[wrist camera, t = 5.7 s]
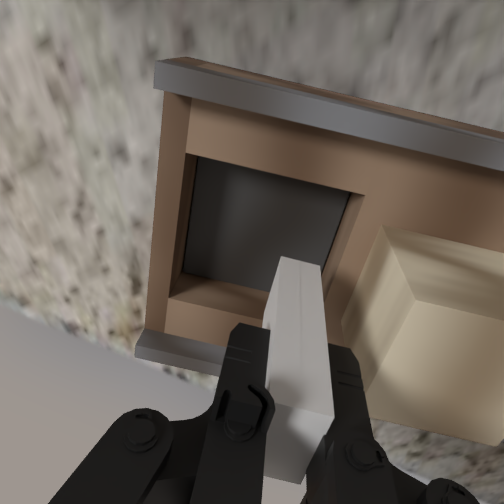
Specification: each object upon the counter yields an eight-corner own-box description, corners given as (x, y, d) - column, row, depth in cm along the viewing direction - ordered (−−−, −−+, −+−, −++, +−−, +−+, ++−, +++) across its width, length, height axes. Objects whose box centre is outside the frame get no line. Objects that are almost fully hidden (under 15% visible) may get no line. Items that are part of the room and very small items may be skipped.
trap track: (159, 309, 21) (134, 357, 18) (186, 56, 15) (155, 60, 12) (688, 433, 22) (756, 501, 18) (938, 236, 15) (1109, 288, 12)
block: (340, 320, 17) (354, 414, 13) (381, 224, 15) (415, 299, 11) (446, 345, 17) (496, 446, 13) (505, 253, 15) (589, 340, 11)
